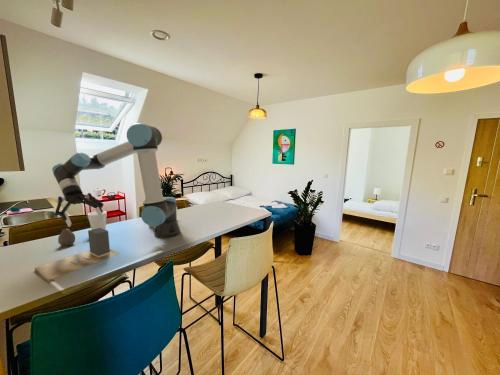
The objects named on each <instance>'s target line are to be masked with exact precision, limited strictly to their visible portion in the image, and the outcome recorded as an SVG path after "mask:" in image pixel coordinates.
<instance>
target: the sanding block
mask: <svg viewBox="0 0 500 375" xmlns="http://www.w3.org/2000/svg"><path fill="white" fill-rule="evenodd" d="M87 233H88V244H89V250H90V253H91V254H93V255H94V256H96V257H98V258H99V257H102V256H104V255H107V254H110V249H111V248H110V238H109V237H110V236H109V230H107V229H106V230H104V229H102V228H97V229H93V230H92V229H90V230H88V231H87Z"/></svg>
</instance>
